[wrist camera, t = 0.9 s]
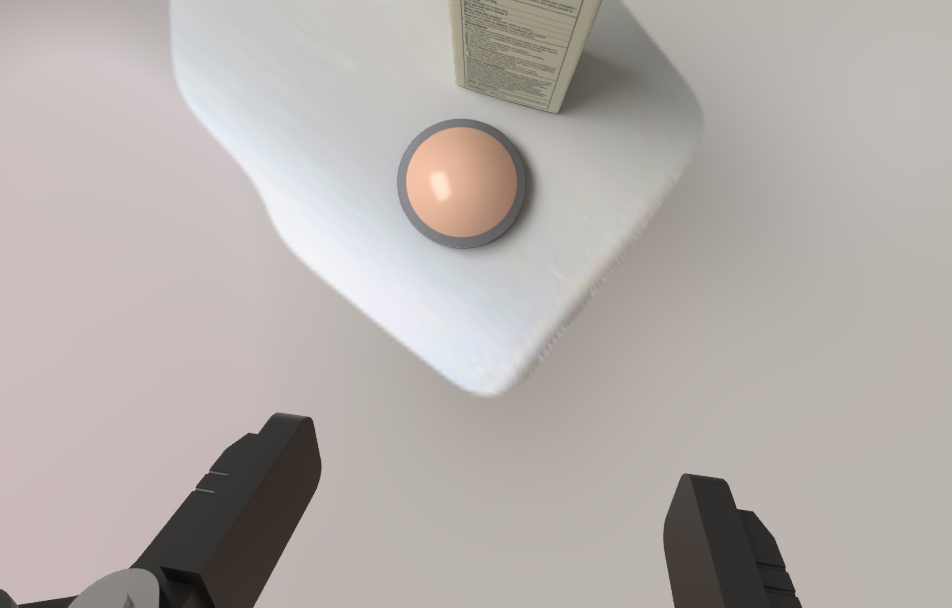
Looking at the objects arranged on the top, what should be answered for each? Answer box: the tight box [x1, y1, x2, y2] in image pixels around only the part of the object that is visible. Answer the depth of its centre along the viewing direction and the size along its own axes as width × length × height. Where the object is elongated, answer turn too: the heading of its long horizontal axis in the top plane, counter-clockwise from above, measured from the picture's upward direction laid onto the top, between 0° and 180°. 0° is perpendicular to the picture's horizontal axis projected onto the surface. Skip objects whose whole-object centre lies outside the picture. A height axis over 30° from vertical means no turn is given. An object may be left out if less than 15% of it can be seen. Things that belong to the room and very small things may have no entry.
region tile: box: [397, 119, 526, 248], centre depth 26 cm, size 7×7×1 cm
